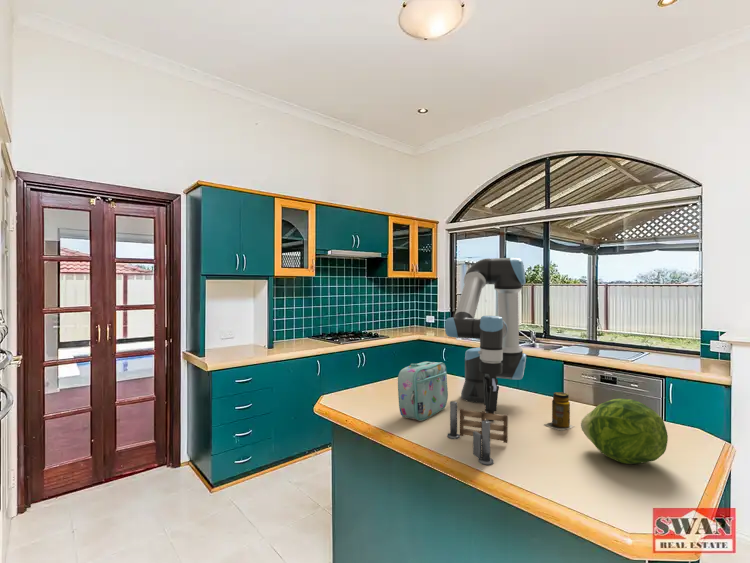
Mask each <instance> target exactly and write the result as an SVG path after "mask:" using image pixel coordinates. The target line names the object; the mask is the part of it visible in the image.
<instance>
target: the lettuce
mask: <svg viewBox="0 0 750 563" xmlns="http://www.w3.org/2000/svg"><path fill="white" fill-rule="evenodd" d="M580 428H581V431H582V432H583V434H584V435H585V437H586V438H587V439H588V440H589V441H590V442H592V443H591V444H593V445H594V446H595V448H596V449H597V450H598V451H599V452H601V454H603V455H604V456H606V457H607V458H610V459H612V460H614V461H616V462H618V463H621V464H625V465H639V464H646V463H651V462H655V461H656V460H659V458H661V457H662V456H663V455H664V454H665V452H666V450H667V447H668V440H669V437H668V431H667V428H666V424H665V422H664V420H663V418H662V417H661V416H660V414H658V413H657V412H656V411H655V410H653V409H652V407H649V406H648V405H646V404H644V403H642V402H640V401H638V400H635V399H628V398H613V399H610V400H606V401H605V402H602V403H600V404H598V405H596V406H595V407H594V409H592V410H591V411H589V413H588V412H587V414H586V415H584V417H583V418H582V419H581V421H580Z"/></svg>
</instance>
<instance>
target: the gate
mask: <svg viewBox="0 0 750 563" xmlns="http://www.w3.org/2000/svg"><path fill="white" fill-rule="evenodd" d="M466 417H469V418H474V419H480V420H481V421H478V420H472V419H465V418H466ZM486 419H488V420H495V422H496V421H497V422H503V424H498V423H495V424H493V423H490V440H493V441H501V442H502V443H504V444H508V439H509V438H508V437H509V435H508V434H509V433H508V427H509V426H508V414H506V413H505V414H504V413H503V414H499V413H495V414H492V413H486V412H485V410H484V411H483V410H481V411H476V410H475V411H474V410H469V409H468V410H467V409H464V408H459V435H460V437H464V436H470V437H473V431H477V432H478V433H480V434H481V435H482V421H483V420H486ZM465 427H470V428H475V429H470V428H465ZM476 428H477V429H480V430H477V429H476ZM492 431H497V433H496V432H492ZM498 432H502V433H498Z"/></svg>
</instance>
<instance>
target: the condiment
mask: <svg viewBox="0 0 750 563" xmlns="http://www.w3.org/2000/svg"><path fill="white" fill-rule="evenodd" d="M552 398H553V399H552V402H551V422H548V423H544V424H543V426H546V427H548V428H552V429H554V430H558V431H561V432H563V431H565V430H569V429H572V428H574V427H575V425H572V424H571V422H570V421H571V409H570V408H571V402H570V396H569V394H568V393H566V392H562V391H561V392H560V391H558V392H557V391H556V392H553V397H552Z"/></svg>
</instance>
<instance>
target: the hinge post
mask: <svg viewBox="0 0 750 563" xmlns="http://www.w3.org/2000/svg"><path fill="white" fill-rule="evenodd" d="M449 408H450V409H449V422H450V423H449V432H448V433H447V434H446V435H447V436H446V437H447V439H450V440H460V439H461V436H460V433H458V402H457V401H456V400H455V401H453V400H452V401H450V402H449Z"/></svg>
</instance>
